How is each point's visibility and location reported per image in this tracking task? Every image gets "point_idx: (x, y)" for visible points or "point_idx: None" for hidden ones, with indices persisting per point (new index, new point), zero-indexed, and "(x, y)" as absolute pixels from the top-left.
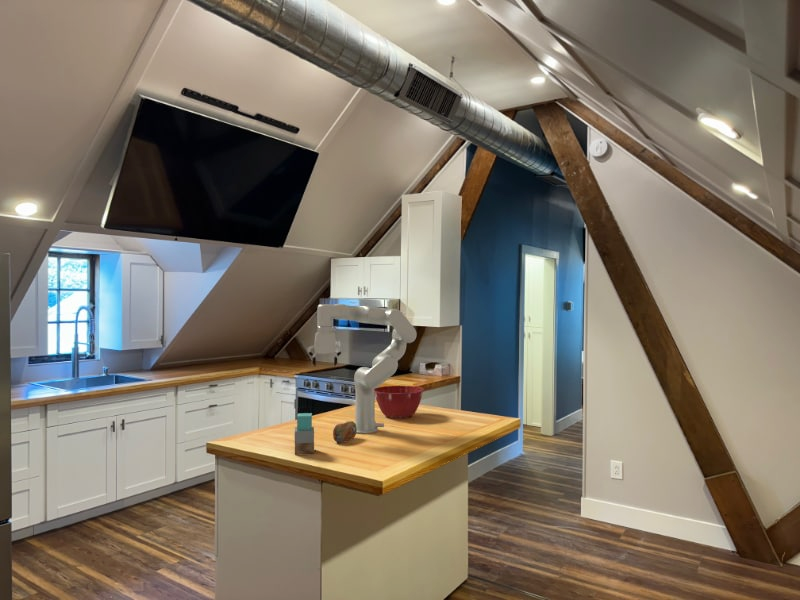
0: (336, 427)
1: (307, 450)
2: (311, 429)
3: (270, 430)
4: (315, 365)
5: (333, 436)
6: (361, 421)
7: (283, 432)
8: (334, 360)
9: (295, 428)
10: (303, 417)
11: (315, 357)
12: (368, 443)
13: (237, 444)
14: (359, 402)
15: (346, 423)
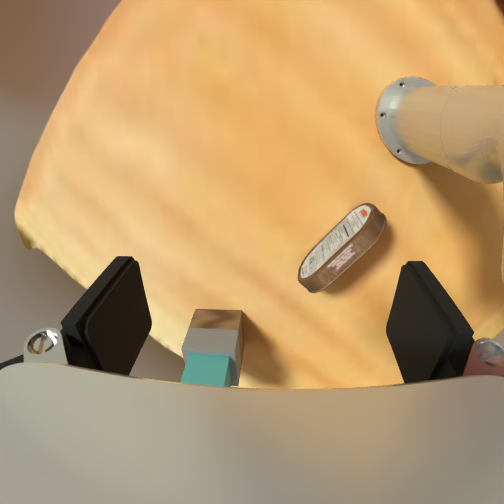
0: (310, 287)
1: None
2: (230, 383)
3: (93, 79)
4: (149, 327)
5: (298, 275)
6: (417, 153)
7: (132, 104)
8: (403, 377)
9: (185, 360)
10: None
11: (88, 341)
12: (391, 274)
13: (57, 239)
14: (446, 162)
15: (350, 260)
